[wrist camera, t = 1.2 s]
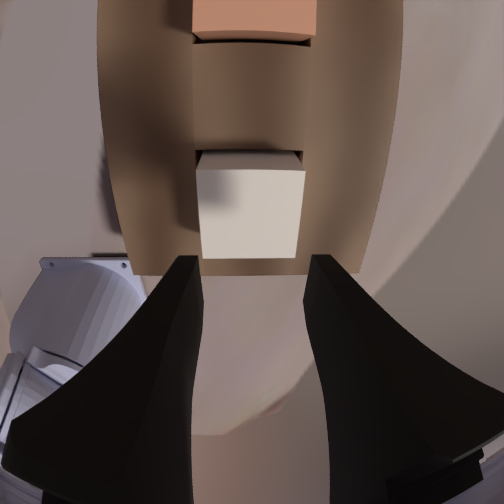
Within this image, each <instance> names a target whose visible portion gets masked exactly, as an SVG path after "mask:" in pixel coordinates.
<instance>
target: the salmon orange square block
mask: <svg viewBox="0 0 504 504" xmlns="http://www.w3.org/2000/svg"><path fill="white" fill-rule="evenodd" d="M316 9H317V0H193V23H192V32H193V33H194V34H195V35H197V36H198V37H199V38H200V39H202V40H225V39H251V40H275V41H288V42H301V41H303V40H306V39H308V38H311V37H313V36H316Z"/></svg>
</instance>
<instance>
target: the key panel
mask: <svg viewBox="0 0 504 504" xmlns="http://www.w3.org/2000/svg"><path fill="white" fill-rule="evenodd" d="M192 23H193V0H98V12H97V67H98V86H99V98H100V110H101V119H102V128H103V136H104V143H105V150H106V156H107V163H108V169H109V174H110V180H111V185H112V190H113V195H114V200H115V205H116V209H117V214H118V218H119V223H120V227H121V231H122V235H123V239H124V243H125V247H126V251H127V254H128V258H129V262H130V265H131V269H132V272H133V275H149V276H164V275H165V273H166V272H167V270H168V269H169V267H170V266H171V265H172V263H173V262H174V260H175V259H176V258H177V257H178V256H179V255H198V258H199V267H200V276H256V275H308V272H309V266H310V261H311V255H312V254H330V255H331V256H332V257H333V258H334V259H335V260H336V261H337V262H338V263H339V264H340V265H341V266H342V267H343V268H344V269H345V270H346V271H347V272H348V273H349V274H350V273H359V271H360V268H361V264H362V261H363V258H364V254H365V251H366V247H367V244H368V240H369V237H370V233H371V230H372V226H373V222H374V218H375V214H376V210H377V206H378V202H379V198H380V193H381V189H382V185H383V180H384V175H385V171H386V166H387V161H388V155H389V150H390V144H391V139H392V133H393V126H394V120H395V113H396V105H397V98H398V89H399V80H400V69H401V56H402V38H403V0H317V9H316V36H313V37H311V38H308V39H306V40H303V41H301V42H288V41H275V40H251V39H225V40H202V39H200V38H199V37H198V36H197V35H195V34H194V33H193V32H192ZM206 149H276V150H293V151H294V153H295V154H296V156H297V158H298V159H299V161H300V163H301V164H302V166H303V167H304V169H305V171H306V172H305V182H304V191H303V200H302V208H301V216H300V225H299V232H298V240H297V248H296V255H295V258H228V259H203V255H202V245H201V234H200V222H199V210H198V197H197V182H196V169H197V166H198V163H199V161H200V158H201V156H202V154H203V151H204V150H206Z"/></svg>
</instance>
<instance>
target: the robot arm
mask: <svg viewBox="0 0 504 504" xmlns="http://www.w3.org/2000/svg"><path fill="white" fill-rule="evenodd" d="M123 263H125V264H126V265H124V264H123ZM40 266H41V268H42V271H41V273H40V274H39V276H38V277H37V279H36V280H35V282H34V284H33V285H32V287H31V288H30V290H29V291H28V293H27V295H26V296H25V298H24V300H23V301H22V303H21V305H20V306H19V308H18V310H17V312H16V313H15V315H14V317H13V320H12V323H11V328H10V348H11V351H12V353H9V354H7V356H6V358H5V361H4V363H3V365H2V367H1V370H0V504H194V500H193V486H192V464H191V415H192V395H193V386H194V380H195V373H196V367H197V360H198V354H199V348H200V342H201V335H202V327H203V309H204V300H203V292H202V284H201V276H200V267H199V258H198V255H179V256H178V257H177V258H176V259H175V260H174V262H173V263H172V265H171V266H170V267H169V269H168V270H167V272H166V273H165V275H164V276H163V277H162V279H161V280H160V282H159V283H158V284H157V286H156V287H155V288H154V290H153V291H152V292H151V294H150V295H149V296H148V297H147V296H146V293H145V290H144V286H143V283H142V279H141V276H140V275H133V272H132V269H131V265H130V262H129V258H128V257H84V258H83V257H79V258H78V257H72V258H71V257H68V258H67V257H43V258H41V260H40ZM303 305H304V313H305V320H306V327H307V331H308V335H309V339H310V343H311V347H312V351H313V354H314V358H315V362H316V366H317V370H318V374H319V377H320V382H321V386H322V390H323V396H324V403H325V411H326V420H327V431H328V442H329V460H330V504H504V447H503V448H502V449H500V450H499V451H497V452H496V453H494V454H493V455H491V456H490V457H488V458H487V459H486V461H485V462H483V463H481V464H480V463H479V460H480V459H482V458H483V457H484V453H483V450H482V447H484V446H485V445H487V444H489V443H490V442H492V441H494V440H495V439H497V438H498V437H500V436H501V435H503V434H504V393H502V392H500V391H498V390H496V389H494V388H492V387H490V386H488V385H486V384H484V383H482V382H480V381H478V380H476V379H475V378H473V377H471V376H470V375H468V374H466V373H464V372H463V371H461V370H460V369H458V368H457V367H455V366H454V365H452V364H450V363H449V362H447V361H446V360H445V359H443V358H442V357H440V356H439V355H438V354H436V353H435V352H433V351H432V350H430V349H429V348H428V347H427V346H425V345H424V344H423V343H421V342H420V341H419V340H418V339H417V338H415V337H414V336H413V335H412V334H410V333H409V332H408V331H407V330H406V329H404V328H403V327H402V326H401V325H400V324H399V323H398V322H396V321H395V320H394V319H393V318H392V317H391V316H390V315H389V314H388V313H387V312H386V311H385V310H384V309H383V308H382V307H381V306H380V305H379V304H377V302H375V301H374V300H373V299H372V298H371V296H370V295H369V294H368V293H367V292H366V291H365V290H364V289H363V288H362V287H361V286H360V285H359V284H358V283H357V282H356V281H355V280H354V279H353V278H352V277H351V276H350V275H349V273H348V272H347V271H346V270H345V269H344V268H343V267H342V266H341V265H340V264H339V263H338V262H337V261H336V260H335V259H334V258H333V257H332V256H331V255H330V254H312V255H311V261H310V266H309V272H308V277H307V282H306V288H305V293H304V298H303Z"/></svg>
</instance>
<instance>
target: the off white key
mask: <svg viewBox="0 0 504 504" xmlns="http://www.w3.org/2000/svg"><path fill="white" fill-rule="evenodd" d="M305 172H306V171H305V169H304V167H303V166H302V164H301V163H300V161H299V159H298V158H297V156H296V154H295V153H294V151H293V150H276V149H206V150H204V151H203V154H202V156H201V158H200V161H199V163H198V166H197V169H196V182H197V197H198V210H199V222H200V234H201V245H202V255H203V259H228V258H295V255H296V248H297V240H298V232H299V225H300V216H301V208H302V200H303V191H304V182H305Z"/></svg>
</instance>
